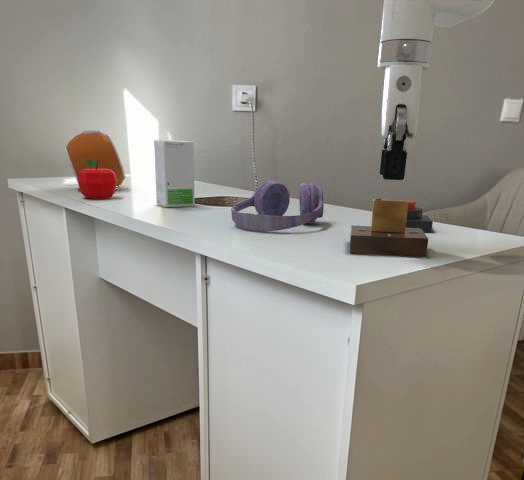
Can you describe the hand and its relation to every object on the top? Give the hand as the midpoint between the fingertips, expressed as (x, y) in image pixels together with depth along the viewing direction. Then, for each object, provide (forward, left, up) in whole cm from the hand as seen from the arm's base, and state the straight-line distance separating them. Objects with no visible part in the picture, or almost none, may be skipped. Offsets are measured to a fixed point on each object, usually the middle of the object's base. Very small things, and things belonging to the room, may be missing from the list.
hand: (391, 177), depth 89 cm
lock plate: (0, 0, -12) cm, 12 cm away
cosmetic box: (+50, -45, -12) cm, 68 cm away
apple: (+75, -55, -12) cm, 94 cm away
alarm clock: (+85, -77, -12) cm, 115 cm away
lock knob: (0, 0, -9) cm, 9 cm away
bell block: (-5, -24, -12) cm, 27 cm away
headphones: (+21, -21, -12) cm, 32 cm away
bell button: (-5, -24, -8) cm, 26 cm away
